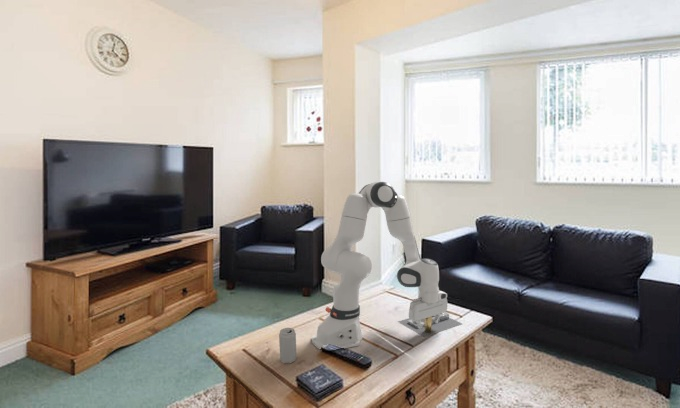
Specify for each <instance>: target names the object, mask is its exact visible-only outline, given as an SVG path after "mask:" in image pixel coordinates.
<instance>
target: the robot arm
mask: <svg viewBox="0 0 680 408" xmlns="http://www.w3.org/2000/svg"><path fill="white" fill-rule="evenodd" d="M371 208H380V209H382V210H383V212H384V214H385V215H384V216H385V221H386V227H387V230H388V231H389V234H390V236H391V237H393V238H395V239H397V240H399V241H400V242H401V244H402V247H403V250H404V251H403V252H404V254H405V259H406V260H405V264H403V266H401V267H400V268H399V270H397V273H396V278H397V281H398V283H399V285H401V286H403V287H405V288H418V289H417V293H418V295H417V297H418V298H414V299H412V301H410V302H409V308H408V309H409V310H408V318H410V319H411V320H413V321H416V322H417V324H418V328H419V329H421V328H423V324H421V323H420V322H421V319H424V318H428V317H431V316H434V315H435V318H434V319H433V322H434V323H435V324H436V323H438V319H439V318H440V314H441V313H444V312H446V313H447V310H448V299H447V298H448V293H446V292H445V291H442V290H440V287H439V281H440V270H439V265H438V263H437V261H435V260H433V259H431V258H421V256H420V252H419V248H418V243H417V241H416V238H415V232H414V229H413V227H414V226H413V223H412V217H411V212H410V207H409V204H408V203H407V200H406V197H405V196H403V195H401V194H398V193H397V192H396V190H395V189H394V187H393V186H392V184H390V183H388V182H385V181H378V182H377V181H375V182H370V183H368V184H366V185H364V186H363V187H362V188H361V189H360V190H359V192H355V193H354V192H353V193H351V194H349V195H347V198H346V200H345V202H344V205H343V209H342V212H341V217H340V222H339V226H338V229H337V230H338V231H337V234H336V236H335V238H334V239H333V242H332V243H331V245H330V246H329V247H327V248H326V249H324V251H322V254H321V257H320V261H321V265H322V267H323V268H324V269H326V270H327V271H329V272H331V273H335V274H337V275H340V277H341V279H340V282H339V283H337V284H336V285H335V286H334V287H333V290H332V291H333V292H332V294H333V295H332V297H333V298H332V300H333V301H332V303H333V305H332V307H331V308H330V307H329V306H327V307H325V309H324V310H325V312H327V313H329V315H328V316H327V317H326V318H325V319H324V320H322V322H321V323H319V325H318V326H317V329H316V334H314V335H312V336H311V342H312V344H313V345H314V346H315V347H316V348H317V349H319V350H320V349H321V347H322V346H323V345H327V344H333V345H337V346H340V347H345V348H344V349H347V348H348V349H350V348H354V347H359V346H360V344H361V341H362V340H363V338H364V336H363V332H362V329H361V322H360V316H361V308H360V304H359V300H360V299H359V297H360V296H359V295H360V287H361V285H362V282H363V281H364V280H365V279H366V278H367V277H368V276H370V274H371V271H372V268H373V267H372V265H373V264H372V261H371V259H370V257H368V256H366V255H365V254H364V253H361V252H358V251H353V248H354V246H355V245H356V243H359V242H360V241H362V240H363V239H364V235H365V232H366V231H365V230H366V225H367V221H368V220H367V219H368V214H369V211H370V209H371Z"/></svg>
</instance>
